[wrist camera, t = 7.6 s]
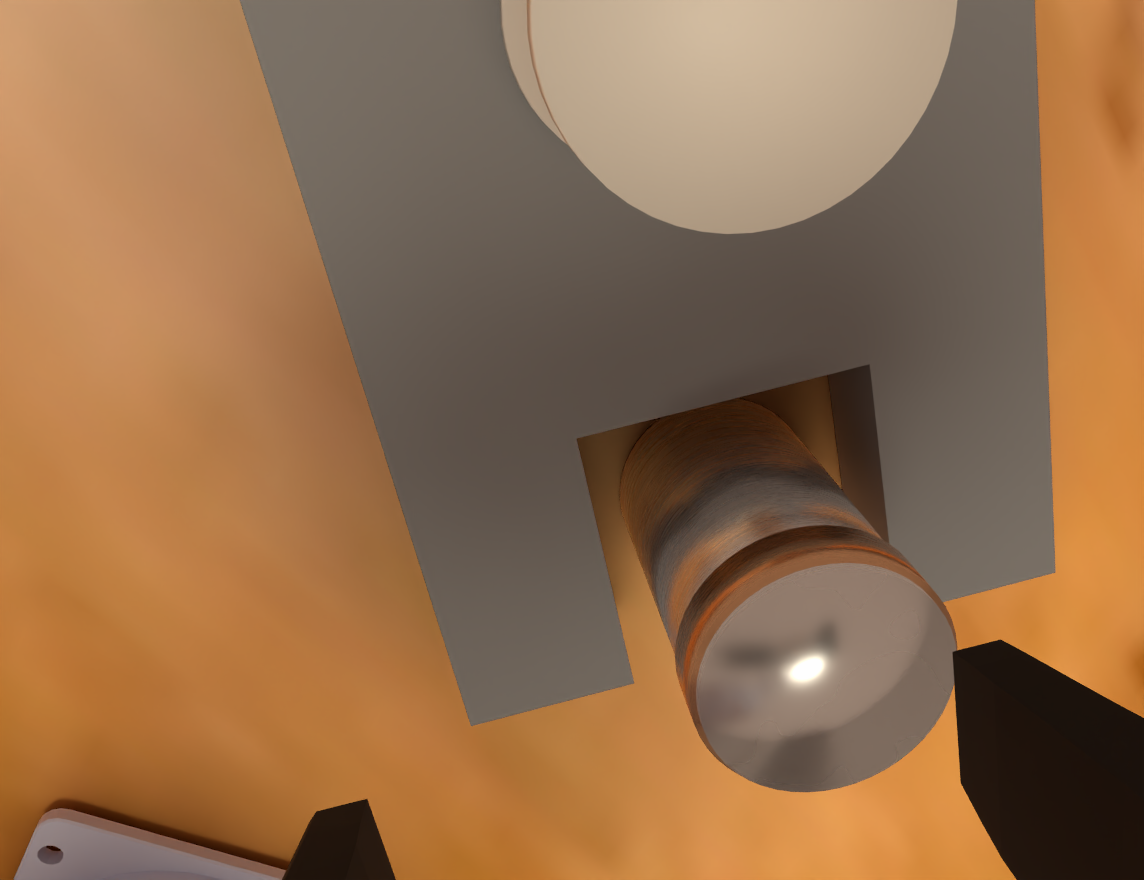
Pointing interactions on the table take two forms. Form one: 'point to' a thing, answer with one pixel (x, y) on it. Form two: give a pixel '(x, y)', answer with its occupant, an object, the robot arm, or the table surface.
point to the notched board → (672, 274)
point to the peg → (782, 603)
